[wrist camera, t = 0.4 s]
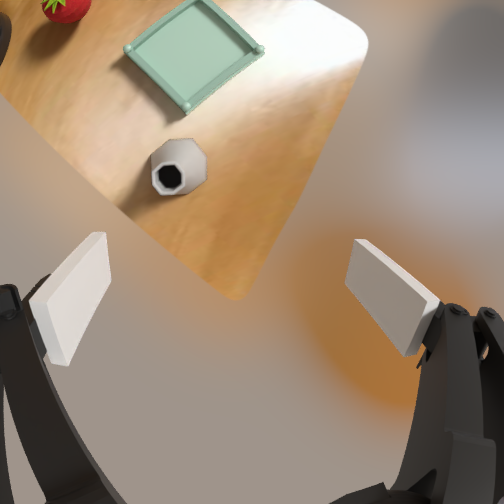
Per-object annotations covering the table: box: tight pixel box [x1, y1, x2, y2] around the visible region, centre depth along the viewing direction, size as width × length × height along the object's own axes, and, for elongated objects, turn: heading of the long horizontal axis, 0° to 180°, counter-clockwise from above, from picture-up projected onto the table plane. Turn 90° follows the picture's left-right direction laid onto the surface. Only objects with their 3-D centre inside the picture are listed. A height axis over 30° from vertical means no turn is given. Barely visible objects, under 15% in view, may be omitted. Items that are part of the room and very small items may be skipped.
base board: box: [123, 0, 265, 115], centre depth 27 cm, size 12×12×3 cm
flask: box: [151, 138, 207, 196], centre depth 29 cm, size 7×7×10 cm
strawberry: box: [41, 0, 91, 23], centre depth 18 cm, size 6×8×10 cm
